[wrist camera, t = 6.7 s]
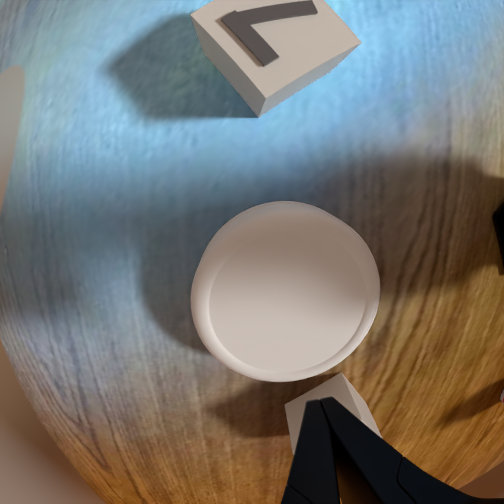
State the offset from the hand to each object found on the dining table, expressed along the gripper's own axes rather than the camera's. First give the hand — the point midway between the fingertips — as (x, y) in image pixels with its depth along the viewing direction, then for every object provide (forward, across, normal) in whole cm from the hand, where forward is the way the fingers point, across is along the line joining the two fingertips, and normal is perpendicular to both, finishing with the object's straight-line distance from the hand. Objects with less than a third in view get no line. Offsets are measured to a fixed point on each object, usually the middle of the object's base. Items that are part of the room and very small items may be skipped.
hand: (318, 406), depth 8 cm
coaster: (+10, 0, 0) cm, 10 cm away
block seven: (+10, -1, -13) cm, 16 cm away
